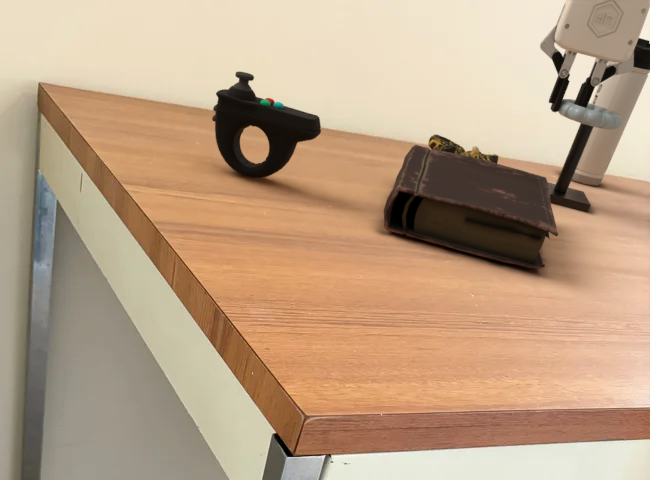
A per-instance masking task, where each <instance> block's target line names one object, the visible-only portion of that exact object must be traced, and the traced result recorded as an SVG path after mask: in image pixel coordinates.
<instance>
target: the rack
mask: <svg viewBox="0 0 650 480" xmlns="http://www.w3.org/2000/svg"><path fill="white" fill-rule="evenodd" d="M592 130H593V126H589V125H585V124H582V123H580V124H579V126H578V128H577V131H576V134H575V136H574V139H573V142H572V144H571V146H570V149H569V151H568V154H567V156H566V159H565V160H564V164H563V166H562V168H561V170H560V172H559V176H558V177H557V180H556V183H552V182H548V181H547V182H548V186H549V190H550V200H551V204H556V205H559V206H562V207H566V208H570V209H574V210H578V211H582V212H586V213H588V212H589V211H590V208H591V206H592V205H591V203H590V201H589V198H588V197H587V195H586V193H585V191H583V190H579V189H575V188H572V187H570V185H571V182H572V181H573V180H572V178H573V175H574V173H575V170H576V168H577V166H578V163H579V161H580V158H581V156H582V154H583V151H584V149H585V146H586V144H587V142H588V139H589V137H590V134H591V132H592Z"/></svg>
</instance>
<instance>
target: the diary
mask: <svg viewBox="0 0 650 480" xmlns="http://www.w3.org/2000/svg"><path fill="white" fill-rule="evenodd" d="M383 227H384V228H385V231H387V232H391V233H392V232H393V233H395V234H400V235H405V236H406V237H410V238H414V239H417V240H420V241H425V242H428V243H432V244H435V245H439V246H442V247H447V248H450V249H453V250H457V251H460V252H464V253H467V254H471V255H475V256H479V257H481V258H486V259H490V260H493V261H497V262H501V263H505V264H511V265H516V266H520V267H526V268H529V269H543V268H545V267H546V264H544V263H543V260H542V255H541V252H540V251H541V249H542V247H543V244H544V241H545V240H546V238H547V239H549V240H550V239H551V237H550V234H551V235H553V236H555V237H558V236H559V232H558V227H557V223H556V219H555V216H554V211H553V207H552V203H551V200H550V190H549V186H548V180H547V177H546V176H542V175H539V174H536V173H533V172H528V171H525V170H523V169H518V168H515V167H512V166H507V165H503V164H500V163H498V162H497V163H493V162H489V161H486V160H482V159H478V158H473V157H469V156H464V155H459V154H455V153H450V152H445V151H440V150H435V149H431V148H430V147H426V146H423V145H418V144H414V145H413V146H412V147H411V148H410V149H409V150H408V152H407V153H406V155H405V156H404V159H403V162H402V166H401V168H400V169H399V172H398V173H397V175H396V177H395V181H394V184H393V187H392V190H391V191H390V193H389V195H388V196H387V199H386V202H385V205H384V209H383Z"/></svg>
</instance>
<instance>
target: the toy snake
mask: <svg viewBox="0 0 650 480" xmlns="http://www.w3.org/2000/svg"><path fill="white" fill-rule="evenodd" d="M427 145H428V146H429V147H428V148H429V149H430V150H431V149H435V150H440V151H445V152H450V153H455V154H459V155H464V156H469V157H473V158H478V159H482V160H486V161H489V162H493V163H497V164H498V162H499V155H498V154H485V153H482V152H481V151H480V149H479V147H478V146H476V145H475V146H473V147H472V148H471V150H467V151H466V150H465V148H464V147H463V146H461V145H459V144H458V143H456V142H454V141H453V140H451V139H449V138H447V137H445V136H442V135H439V134H433V135H431V136H430V137H429V139H428V142H427Z"/></svg>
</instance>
